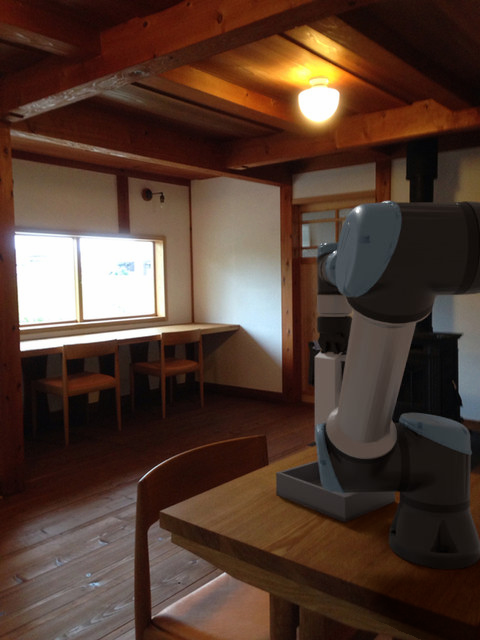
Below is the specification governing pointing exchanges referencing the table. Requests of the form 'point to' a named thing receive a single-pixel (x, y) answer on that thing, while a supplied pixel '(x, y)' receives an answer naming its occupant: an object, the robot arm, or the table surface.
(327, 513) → the bin
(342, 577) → the table surface
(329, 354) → the milk
